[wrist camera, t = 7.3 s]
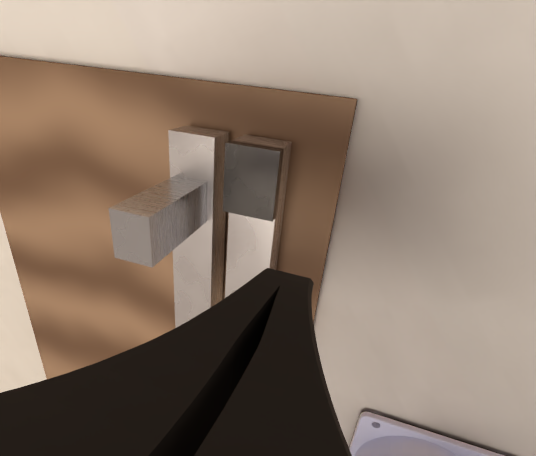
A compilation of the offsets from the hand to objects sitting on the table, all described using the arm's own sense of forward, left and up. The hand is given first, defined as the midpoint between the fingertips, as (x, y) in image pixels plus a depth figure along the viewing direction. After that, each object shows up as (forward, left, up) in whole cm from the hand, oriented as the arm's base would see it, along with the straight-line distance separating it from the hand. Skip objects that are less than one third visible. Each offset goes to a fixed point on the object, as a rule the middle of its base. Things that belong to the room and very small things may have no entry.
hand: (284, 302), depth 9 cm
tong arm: (+6, +6, -7) cm, 11 cm away
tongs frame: (+4, +9, -7) cm, 13 cm away
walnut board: (+11, +9, -8) cm, 16 cm away
